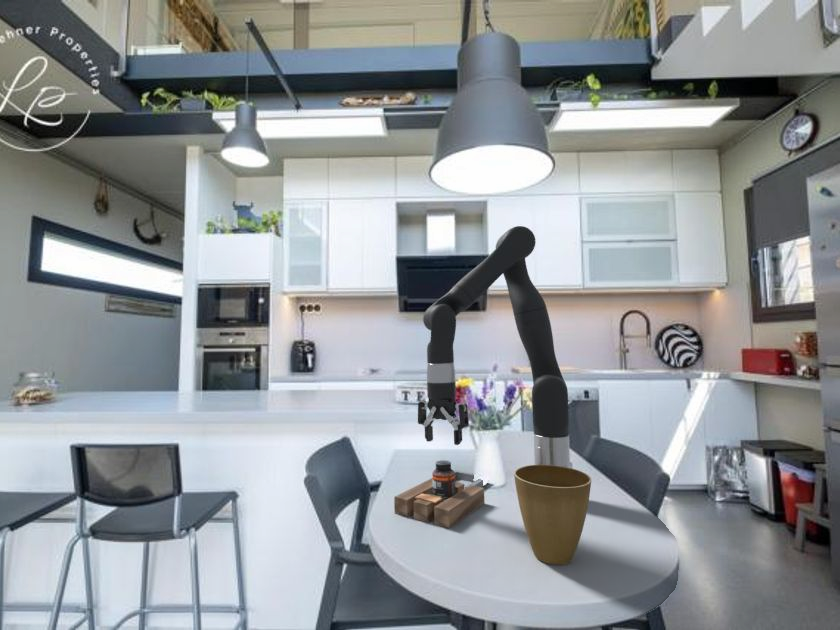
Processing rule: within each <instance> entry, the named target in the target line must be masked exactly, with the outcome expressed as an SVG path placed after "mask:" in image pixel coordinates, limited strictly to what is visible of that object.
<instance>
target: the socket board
mask: <svg viewBox="0 0 840 630" xmlns="http://www.w3.org/2000/svg"><path fill="white" fill-rule="evenodd" d="M432 478H433V477H432ZM432 478H429V479H428V480H425V481H424V482H422V483H420V484H417V485H416V486H413V487H411V488H409V489H407V490H405V491H403V492H401V493H399V494H396V495H395V496H394V501H393V502H394V514H397V515H401V516H404V517H409V516H411V515H413V519H415V520H419V521H421V522H425V523H428V522H431V520H433V519H434V521H433V522H434V523H433V524H434V525H435V526H440V527H442V528H446V529H450V528H451V527H453V526H454V525H456V524H457V523H459V522H460V521H462V520H463V519H465V518H466V517H467V516H469V515H470V514H472V513H473V512H475V510H477V509H479V508H480V507H481V506H483V505H484V504H485V488H484V487H477V486H473V485H470V486H468V485H467V486H468V487H467V488H465V483H464V482H463V483H462V482H457V481H455V495H453V496H452V497H450V498H448V499H447V500H445V501H443V502H442V497H441V496H437V495H433V479H432Z"/></svg>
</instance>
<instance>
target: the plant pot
mask: <svg viewBox="0 0 840 630" xmlns="http://www.w3.org/2000/svg"><path fill="white" fill-rule="evenodd" d="M572 468H573V467H572ZM572 468H568V467H562V466H555V465H535V464H530V465H524V466H521V467H519V468H516V469H515V470H514V472H513V475H514V476H513V477H514V481H515V489H516V490H515V491H516V495H517V501H518V506H519V511H520V514H521V518H522V522H523V525H524V529H525V533H526V536H527V538H528V541H529V544H530V547H531V549H532V553H533V555H534V557H535V558H536V559H537V560H539V561H541V562H543V563H545V564H548V565H553V566H562V565H568V564H569V563H571V562H572V561H573V559H574V557H575V554H576V551H577V549H578V546H579V542H580V540H581V536H582V533H583V529H584V525H585V521H586V518H587V512H588V508H589V501H590V493H591V485H592V478H591V476H590V475H589V474H587V473H585V472H583V471H582V470H578V469H575V468H573V469H572Z"/></svg>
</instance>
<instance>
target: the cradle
mask: <svg viewBox="0 0 840 630" xmlns="http://www.w3.org/2000/svg"><path fill="white" fill-rule="evenodd" d="M452 470H453V471H454V473H455V480H456V479H457V480H463V481H468V482H472V483H470V484H468V485H466V486H464V489H465V488H467V487H468V486H470V485H473V486H477V487H482V488H484V487H483V480H481V479H478V480H476V481H474V482H473V479H474V474H475V473H473V472H468V471H462V470H457V469H452Z"/></svg>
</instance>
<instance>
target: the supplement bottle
mask: <svg viewBox="0 0 840 630" xmlns="http://www.w3.org/2000/svg"><path fill="white" fill-rule="evenodd" d="M453 470H454V469H452V462H451V461H450V460H446V459H444V460H438V461H435V469H434V470H433V471H432V472H431V473H432V475H431V476H432V479H433V495H437V496H441V497H442V502H443V501H445V500H447V499H448V498H450V497H452V496H453V495H455V482H456V479H455V473H454V471H453Z"/></svg>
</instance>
